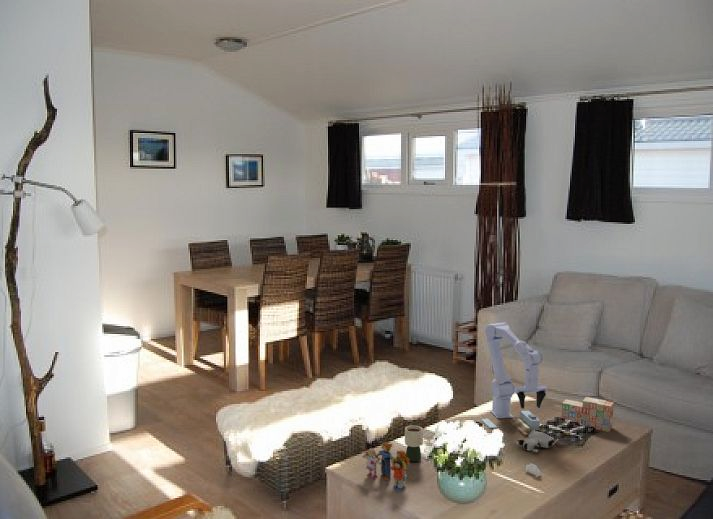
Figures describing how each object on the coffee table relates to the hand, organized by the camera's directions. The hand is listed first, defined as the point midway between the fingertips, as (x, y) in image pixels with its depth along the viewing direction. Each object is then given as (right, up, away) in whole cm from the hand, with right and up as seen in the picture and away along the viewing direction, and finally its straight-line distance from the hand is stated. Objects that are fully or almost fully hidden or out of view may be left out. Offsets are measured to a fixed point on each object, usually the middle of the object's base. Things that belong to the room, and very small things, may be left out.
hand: (530, 407), depth 284 cm
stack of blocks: (+28, -10, +6) cm, 30 cm away
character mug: (-56, -14, -32) cm, 65 cm away
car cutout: (-13, -16, -40) cm, 45 cm away
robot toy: (-3, -13, -19) cm, 23 cm away
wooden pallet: (0, -10, +1) cm, 10 cm away
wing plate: (-17, -10, +6) cm, 21 cm away
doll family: (-66, -16, -48) cm, 83 cm away
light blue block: (0, -9, +1) cm, 9 cm away
